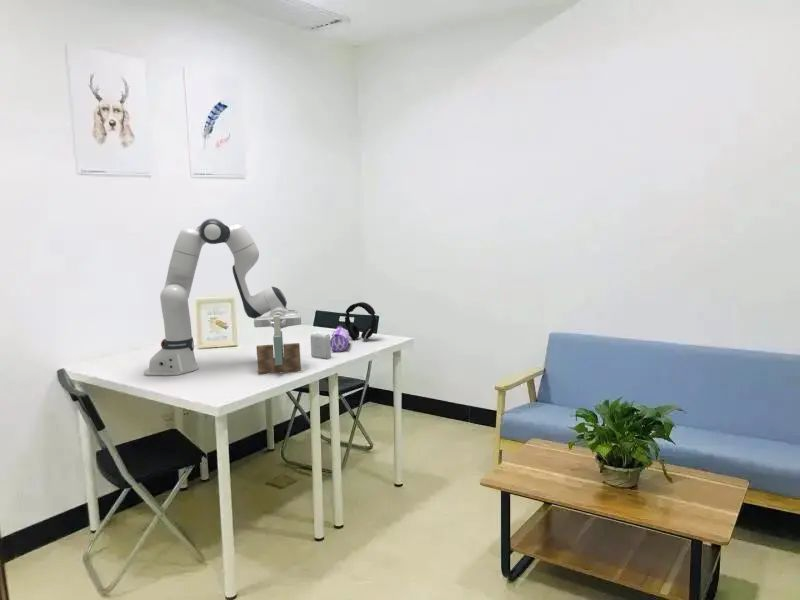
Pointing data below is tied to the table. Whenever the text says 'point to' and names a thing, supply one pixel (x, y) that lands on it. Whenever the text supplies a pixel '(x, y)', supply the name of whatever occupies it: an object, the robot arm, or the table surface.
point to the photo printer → (320, 344)
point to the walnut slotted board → (268, 361)
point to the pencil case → (339, 339)
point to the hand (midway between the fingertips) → (276, 324)
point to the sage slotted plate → (278, 341)
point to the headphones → (353, 328)
